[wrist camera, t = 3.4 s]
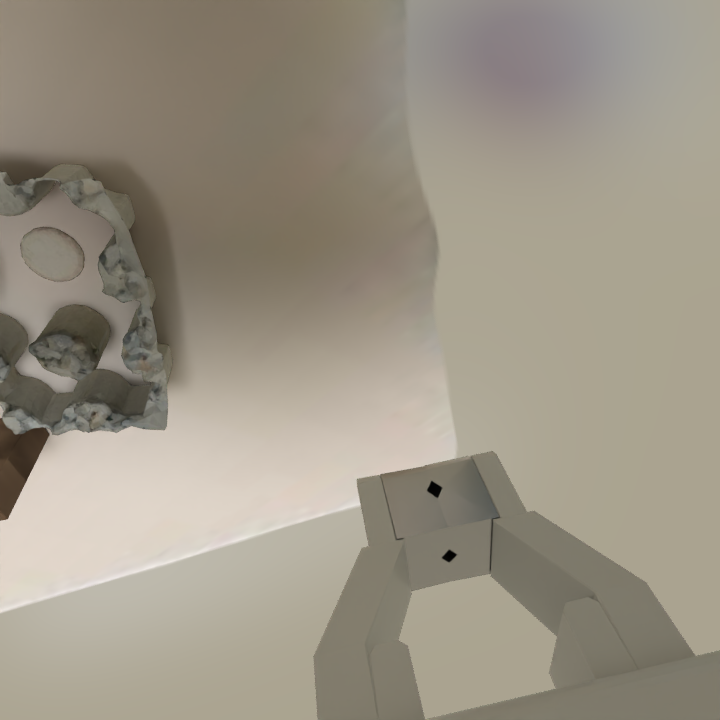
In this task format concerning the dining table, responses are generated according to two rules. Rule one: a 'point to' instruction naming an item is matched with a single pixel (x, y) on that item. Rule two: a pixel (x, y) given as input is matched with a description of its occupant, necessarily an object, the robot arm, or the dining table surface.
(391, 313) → the dining table surface
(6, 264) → the dining table surface
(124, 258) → the egg carton
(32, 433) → the walled channel
